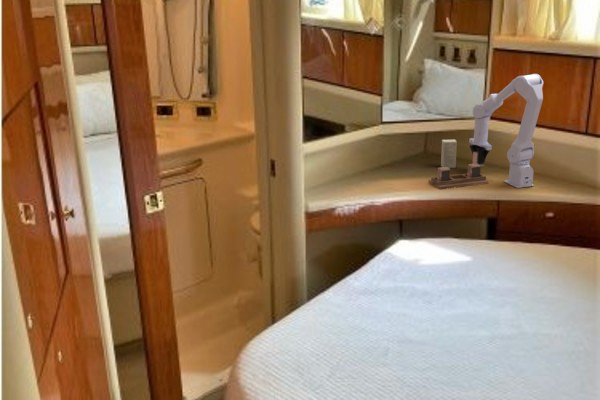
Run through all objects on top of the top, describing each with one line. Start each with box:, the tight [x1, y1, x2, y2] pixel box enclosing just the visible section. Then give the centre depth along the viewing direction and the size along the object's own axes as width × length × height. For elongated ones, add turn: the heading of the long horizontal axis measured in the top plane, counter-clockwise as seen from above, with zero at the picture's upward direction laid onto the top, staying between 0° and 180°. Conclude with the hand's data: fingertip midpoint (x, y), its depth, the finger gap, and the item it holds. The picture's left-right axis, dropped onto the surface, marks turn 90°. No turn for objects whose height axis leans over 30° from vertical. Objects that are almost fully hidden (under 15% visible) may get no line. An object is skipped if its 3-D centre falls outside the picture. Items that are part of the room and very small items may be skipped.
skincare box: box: [440, 139, 458, 169], centre depth 264 cm, size 6×4×12 cm
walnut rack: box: [428, 163, 489, 190], centre depth 242 cm, size 10×22×7 cm, turn 106°
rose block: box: [472, 152, 486, 167], centre depth 255 cm, size 3×4×6 cm
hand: (478, 162), depth 256 cm, fingers closed on rose block, 3 cm apart
